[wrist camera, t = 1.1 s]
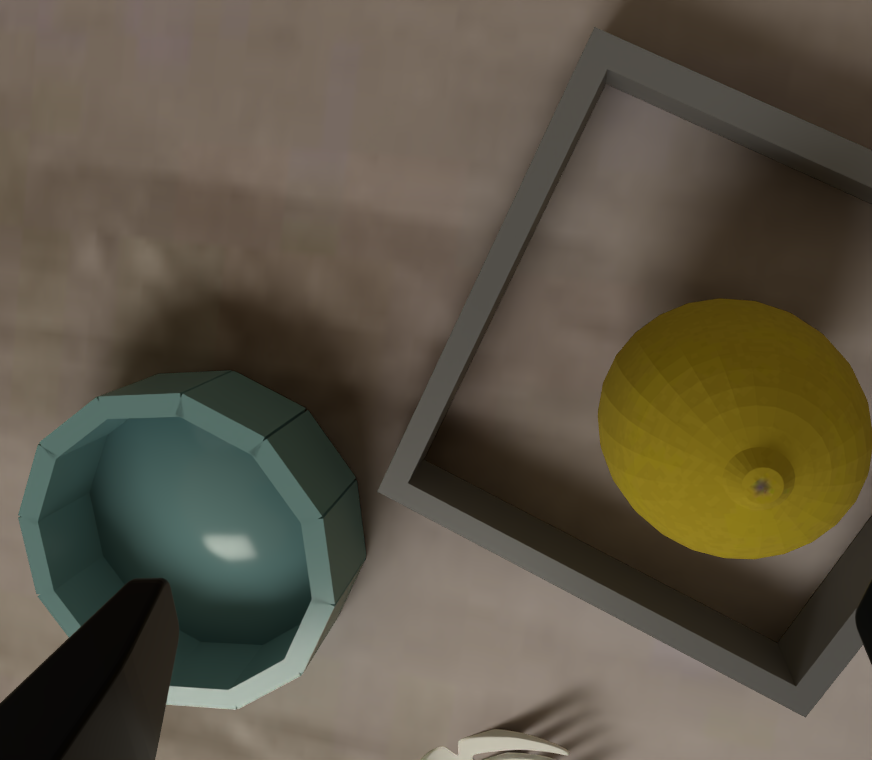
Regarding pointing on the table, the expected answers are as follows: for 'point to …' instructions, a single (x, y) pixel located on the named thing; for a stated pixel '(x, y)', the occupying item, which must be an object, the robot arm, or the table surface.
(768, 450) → the lemon
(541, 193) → the parts tray
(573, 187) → the table surface
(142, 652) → the robot arm
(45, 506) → the bowl
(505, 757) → the fork
